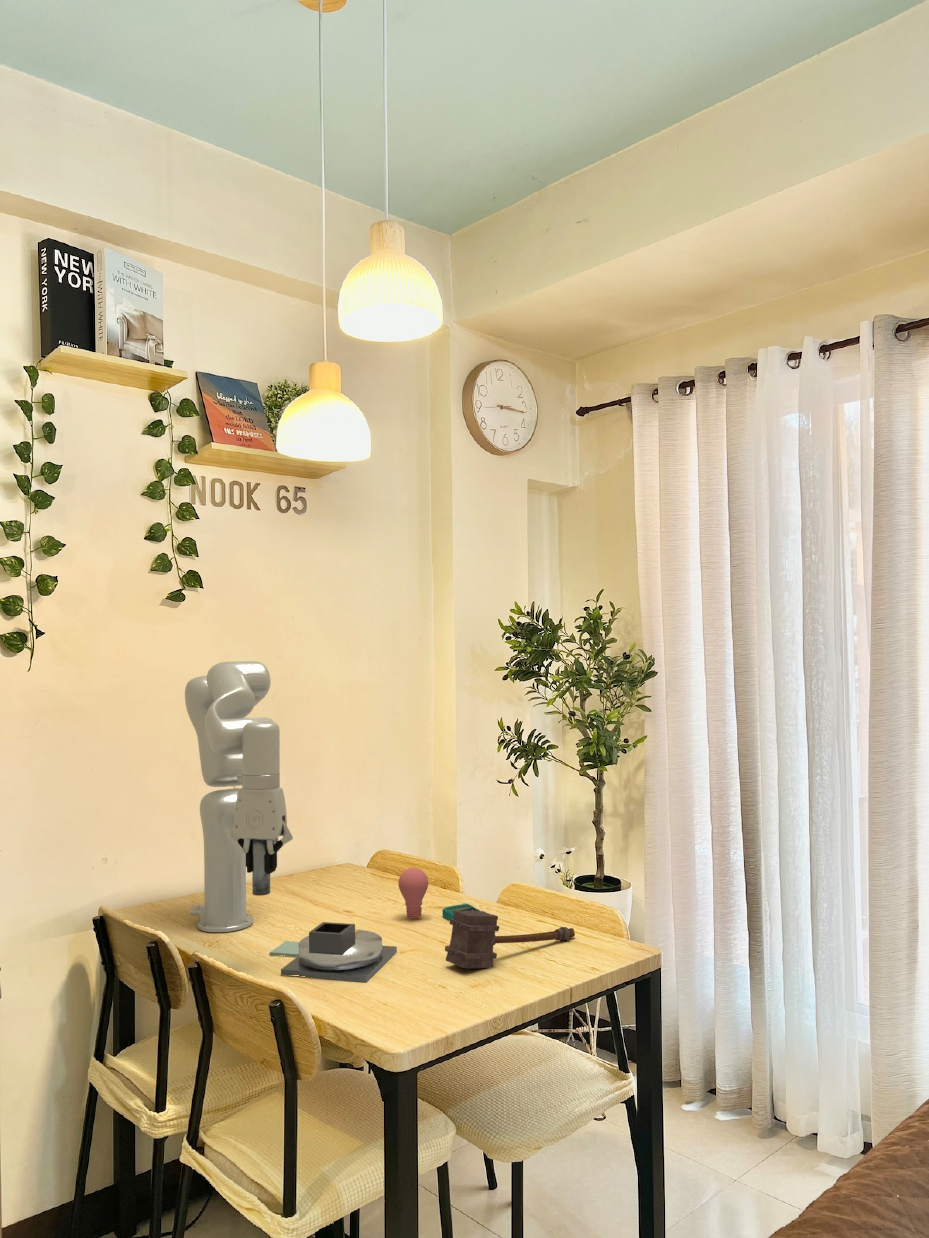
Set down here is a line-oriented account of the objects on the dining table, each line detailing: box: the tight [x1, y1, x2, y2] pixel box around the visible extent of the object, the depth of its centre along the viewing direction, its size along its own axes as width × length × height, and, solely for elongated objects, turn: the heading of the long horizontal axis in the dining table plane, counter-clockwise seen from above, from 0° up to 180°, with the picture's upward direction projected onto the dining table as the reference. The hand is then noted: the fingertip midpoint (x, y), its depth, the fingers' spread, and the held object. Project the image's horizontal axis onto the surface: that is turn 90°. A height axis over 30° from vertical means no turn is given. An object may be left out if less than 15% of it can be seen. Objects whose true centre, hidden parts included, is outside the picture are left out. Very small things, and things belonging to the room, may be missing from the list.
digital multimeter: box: [441, 903, 498, 926], centre depth 215 cm, size 7×15×3 cm, turn 28°
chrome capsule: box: [251, 839, 271, 896], centre depth 188 cm, size 4×4×12 cm
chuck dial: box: [298, 921, 383, 970], centre depth 188 cm, size 17×17×7 cm
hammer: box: [444, 910, 576, 969], centre depth 192 cm, size 7×33×10 cm, turn 128°
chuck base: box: [280, 945, 398, 983], centre depth 188 cm, size 18×18×1 cm
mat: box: [269, 940, 300, 957], centre depth 196 cm, size 8×8×1 cm
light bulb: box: [398, 867, 429, 919], centre depth 219 cm, size 7×7×12 cm
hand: (261, 870), depth 188 cm, fingers closed on chrome capsule, 3 cm apart
